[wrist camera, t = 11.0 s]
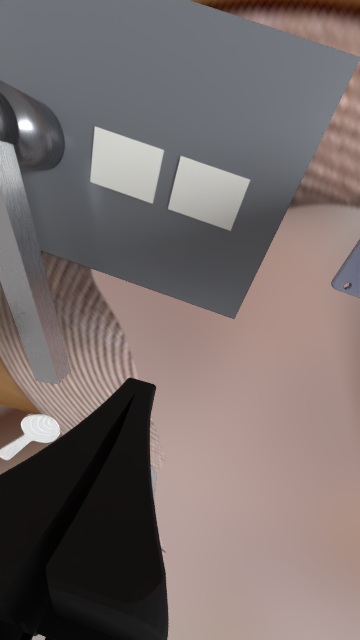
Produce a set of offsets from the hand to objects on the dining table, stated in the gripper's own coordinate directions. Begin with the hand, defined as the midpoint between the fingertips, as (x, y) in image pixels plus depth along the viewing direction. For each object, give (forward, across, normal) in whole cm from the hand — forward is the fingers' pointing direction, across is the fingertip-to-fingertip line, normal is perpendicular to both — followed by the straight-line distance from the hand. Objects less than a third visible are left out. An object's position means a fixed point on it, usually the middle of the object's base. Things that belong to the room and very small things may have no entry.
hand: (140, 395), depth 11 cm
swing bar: (+6, +10, -3) cm, 12 cm away
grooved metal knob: (+10, +11, -10) cm, 18 cm away
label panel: (+10, +4, -9) cm, 15 cm away
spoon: (+11, +19, +28) cm, 36 cm away
